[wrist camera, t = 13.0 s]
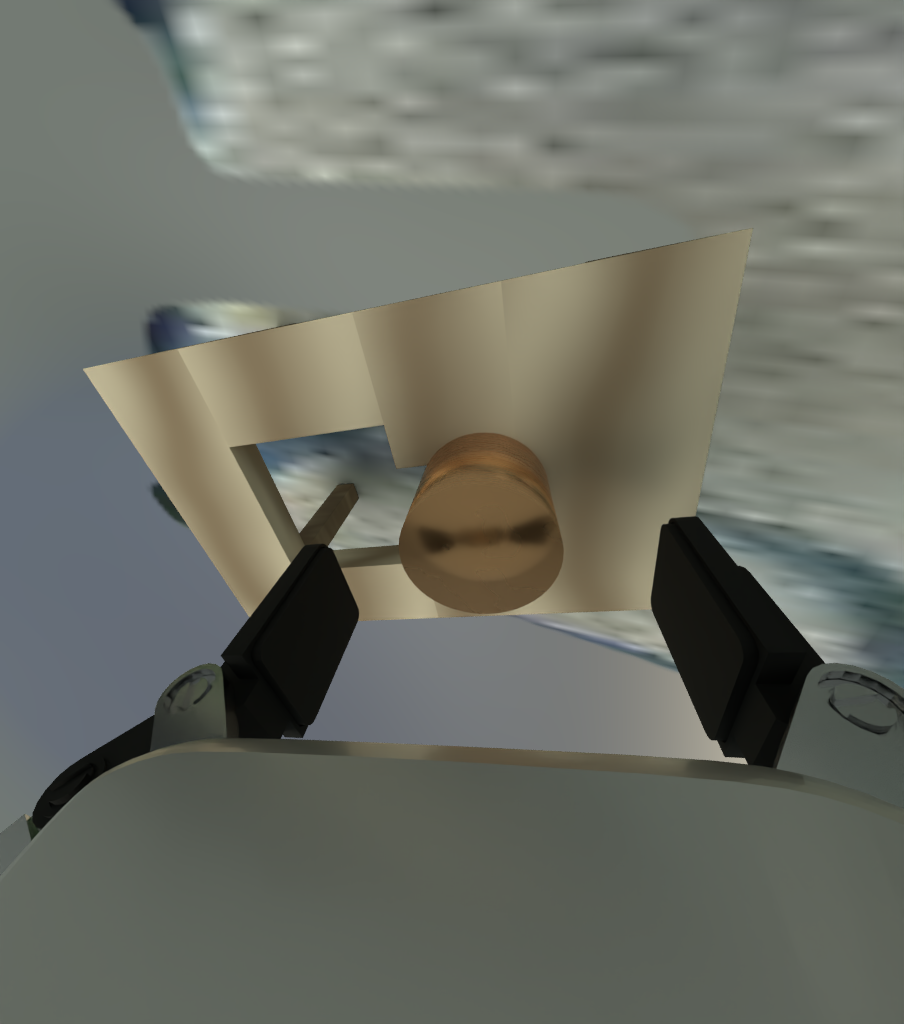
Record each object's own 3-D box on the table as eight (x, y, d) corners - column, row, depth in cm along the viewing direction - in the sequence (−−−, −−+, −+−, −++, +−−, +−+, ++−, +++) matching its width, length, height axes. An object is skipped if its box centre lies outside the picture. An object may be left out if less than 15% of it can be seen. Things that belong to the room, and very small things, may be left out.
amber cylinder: (527, 366, 21) (561, 475, 9) (532, 446, 24) (565, 610, 12) (443, 380, 22) (379, 494, 10) (457, 455, 25) (418, 616, 13)
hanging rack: (612, 256, 21) (753, 228, 9) (603, 472, 28) (676, 608, 17) (276, 327, 25) (82, 368, 14) (343, 500, 32) (254, 624, 21)
